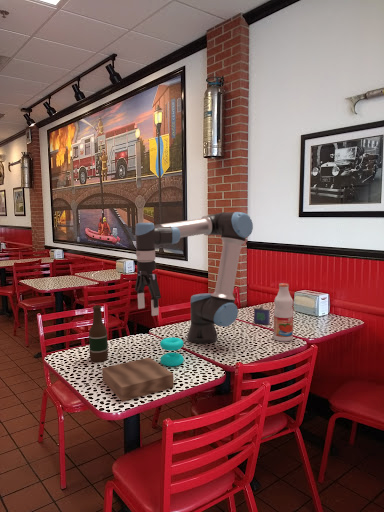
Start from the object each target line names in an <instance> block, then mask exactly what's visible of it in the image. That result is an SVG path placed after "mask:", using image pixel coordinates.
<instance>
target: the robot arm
mask: <svg viewBox="0 0 384 512" xmlns="http://www.w3.org/2000/svg"><path fill="white" fill-rule="evenodd" d="M253 230H254V223H253V221H252V218H251V216H250V215H249V214H248V213H246V212H240V211H233V212H232V211H231V212H229V211H228V212H225V211H222V212H218V213H213V214H209V215H204V216H202V217H201V218H197V219H196V218H195V219H189V220H188V219H187V220H182V221H175V222H166V223H161V224H160V223H159V224H154V223H153V222H137V223H136V224H135V247H136V248H135V249H136V253H135V256H136V261H137V262H136V270H137V271H136V273H137V275H136V279H135V280H136V281H135V287H134V291H135V292H136V293H137V308H138V310H140V309H146V308H145V307H146V306H145V305H146V304H145V303H146V302H145V288H146V286H147V288H148V291H149V294H150V296H151V298H150V302H151V303H150V304H151V305H150V306H151V307H150V308H151V316H152V317H154V316H159V315H160V314H159V312H160V311H159V300H160V299H162V294H161V291H160V287H159V283H158V275H157V274H156V273H153V271H155V270H156V261H155V260H156V246H160V245H161V246H162V245H163V246H164V245H175V244H177V243H179V242H180V240H181V239H182V238H187V237H193V236H199V235H200V236H201V235H204V236H221V237H220V239H221V240H222V243H223V244H222V249H221V253H220V260H219V265H218V270H217V277H216V281H215V282H216V283H215V287H214V288H215V289H214V292H212V293H211V292H209V293H207V292H206V293H205V292H204V293H198V294H197V293H196V294H193V295H191V297H190V303H189V304H190V326H189V330H188V333H187V341H189V342H190V343H194V344H199V345H200V344H201V345H203V344H205V345H206V344H211V343H215V342H217V341H218V332H217V329H216V326H220V327H224V328H225V327H226V328H227V327H229V326H232V325H233V324H234V322H236V320H237V318H238V315H239V314H238V313H239V309H238V306H237V305H236V304H235V303H236V298H235V297H234V289H235V283H236V277H237V272H238V266H239V260H240V254H241V249H242V245H244V244H245V243H246V240H247V238H249V236H250V235H252V233H253ZM215 325H216V326H215Z"/></svg>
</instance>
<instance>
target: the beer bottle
mask: <svg viewBox="0 0 384 512" xmlns="http://www.w3.org/2000/svg"><path fill="white" fill-rule="evenodd" d="M92 310H93V315H92V316H93V317H92V318H93V319H92V325H91V327H90V328H89V331H88V346H89V347H88V348H89V360H90V362H92V363H103V362H105V361H107V359H108V357H109V348H108V347H109V346H108V330H107V327H106V326H105V325H104V323H103V316H102V306H101V305H99V304H97V305H93V306H92Z"/></svg>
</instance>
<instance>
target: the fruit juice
mask: <svg viewBox="0 0 384 512" xmlns="http://www.w3.org/2000/svg"><path fill="white" fill-rule="evenodd" d="M289 288H290V284H289V283H284V282H281V283H279V284H278V292H277V295H276V296H275V298H274V301H273V302H274V310H273V339H274V340H275V341H278V342H291V341H292V340H293V338H294V311H293V305H294V300H293V298H292V295H291V293H290V291H289Z"/></svg>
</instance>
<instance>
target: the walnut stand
mask: <svg viewBox="0 0 384 512" xmlns="http://www.w3.org/2000/svg"><path fill="white" fill-rule="evenodd" d="M101 371H102V372H101V374H102V377H101V379H102V382H104V384H105V385H106V386H107V387H108V388H109V389H110V390H111V391H112V392H113V394H115V395H116V396H117V398H119V400H120V401H121V402H126V401H130V400H132V399H136V398H137V399H138V398H141V397H143V396H147V395H151V394H154V393H158V392H161V391H165V390H170V389H172V388H174V379H175V378H174V373H172V372H171V371H170V370H168V369H167V368H166V367H164V366H163V365H161V364H160V363H158V361H156V360H154V359H153V358H151V357H145V358H140V359H137V360H132V361H128V362H122V363H117V364H113V365H108V366H106V367H102V368H101Z"/></svg>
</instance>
